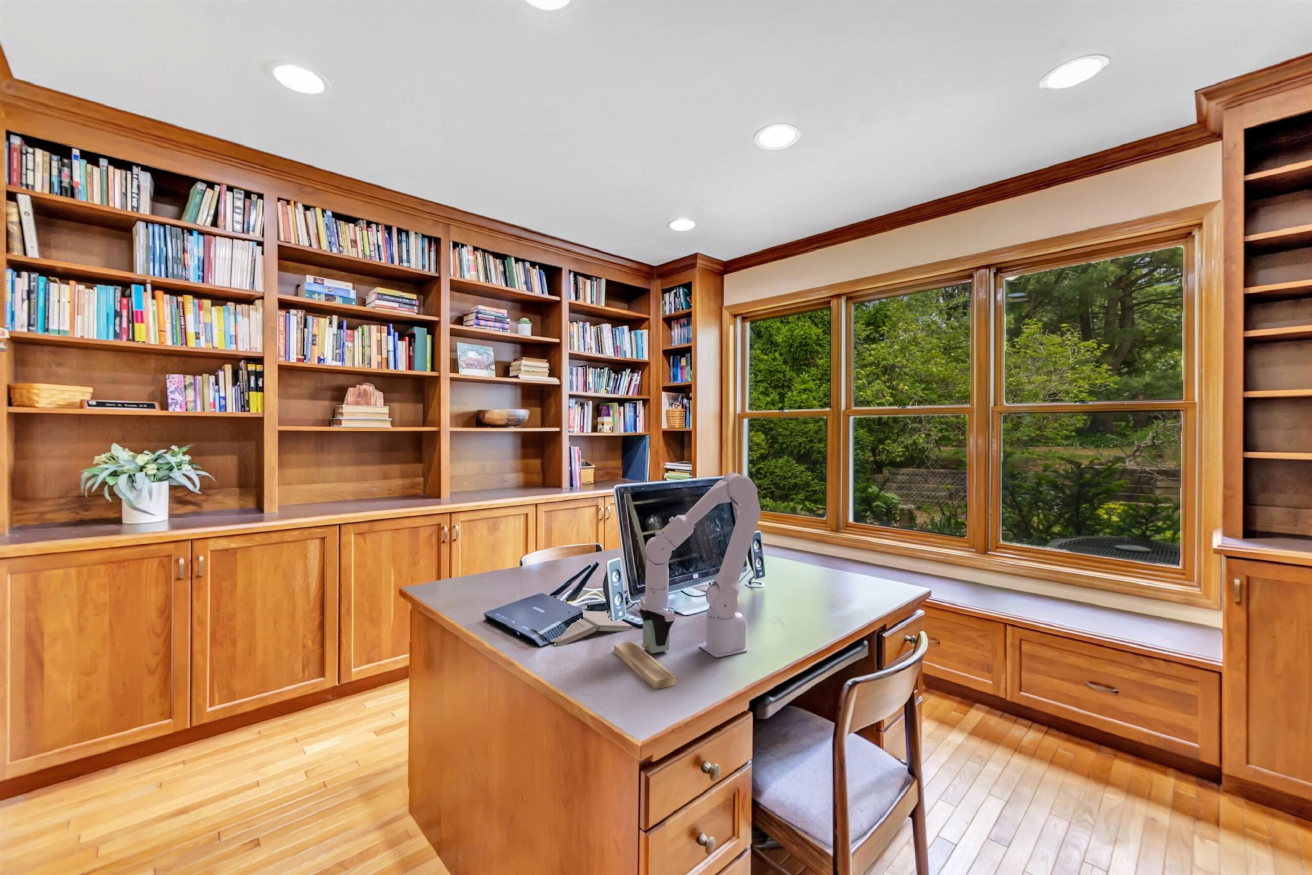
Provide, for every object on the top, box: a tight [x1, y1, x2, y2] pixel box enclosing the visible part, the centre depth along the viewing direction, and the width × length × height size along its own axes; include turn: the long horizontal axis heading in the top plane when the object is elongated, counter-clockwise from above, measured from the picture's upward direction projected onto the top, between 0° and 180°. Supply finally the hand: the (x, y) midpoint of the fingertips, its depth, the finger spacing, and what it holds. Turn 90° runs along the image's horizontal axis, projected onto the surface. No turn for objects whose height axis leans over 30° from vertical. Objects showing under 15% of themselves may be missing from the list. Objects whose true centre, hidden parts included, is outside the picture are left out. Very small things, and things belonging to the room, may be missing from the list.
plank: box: [613, 640, 677, 690], centre depth 126 cm, size 5×22×2 cm, turn 27°
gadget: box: [554, 610, 633, 648], centre depth 150 cm, size 23×15×4 cm, turn 127°
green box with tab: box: [641, 620, 670, 654], centre depth 135 cm, size 6×4×6 cm
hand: (655, 641), depth 136 cm, fingers closed on green box with tab, 4 cm apart
